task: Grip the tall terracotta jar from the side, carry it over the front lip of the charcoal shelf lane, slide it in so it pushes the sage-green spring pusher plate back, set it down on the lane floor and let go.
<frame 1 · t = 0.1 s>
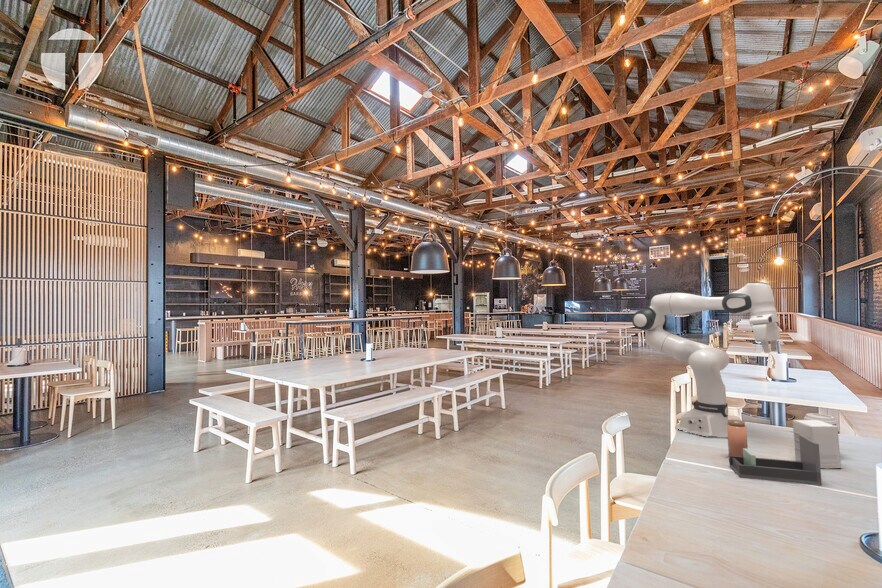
hand: (770, 351, 167), 39 cm above the table, tool pointing down, fingers open, 8 cm apart
jar: (738, 458, 152), on the table
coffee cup: (822, 455, 154), on the table
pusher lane: (755, 473, 137), on the table
supplement box: (817, 464, 145), on the table
pusher plate: (749, 460, 138), point 4 cm above the table, slide at 0.0 cm
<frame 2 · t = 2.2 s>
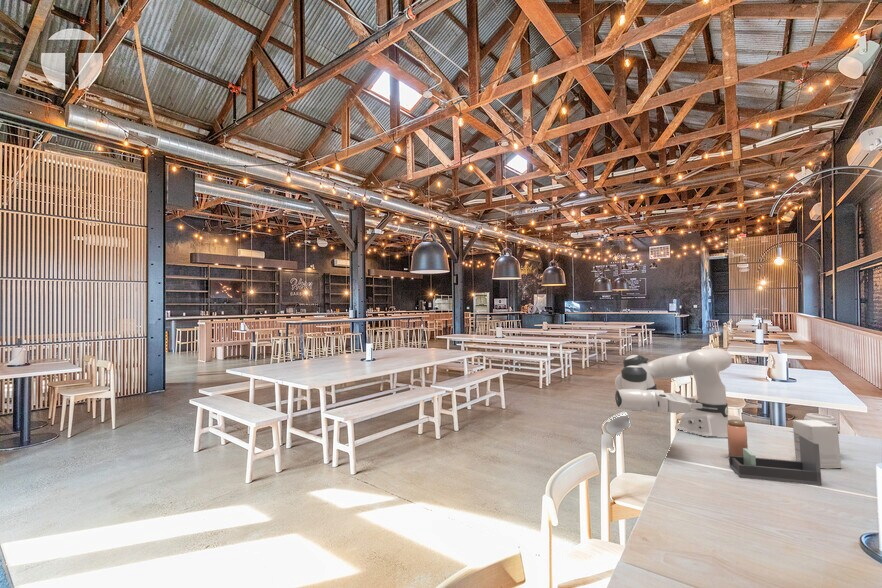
hand: (698, 403, 157), 20 cm above the table, tool horizontal, fingers open, 8 cm apart
nothing on the table moved.
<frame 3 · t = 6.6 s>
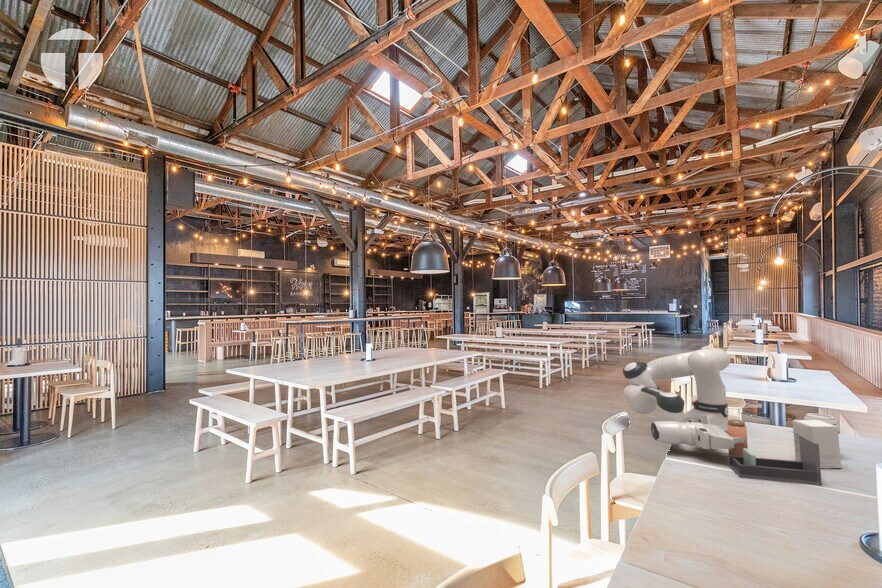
hand: (740, 437, 152), 8 cm above the table, tool horizontal, fingers closed on jar, 6 cm apart
jar: (738, 458, 152), on the table, touching gripper
everything else where it was.
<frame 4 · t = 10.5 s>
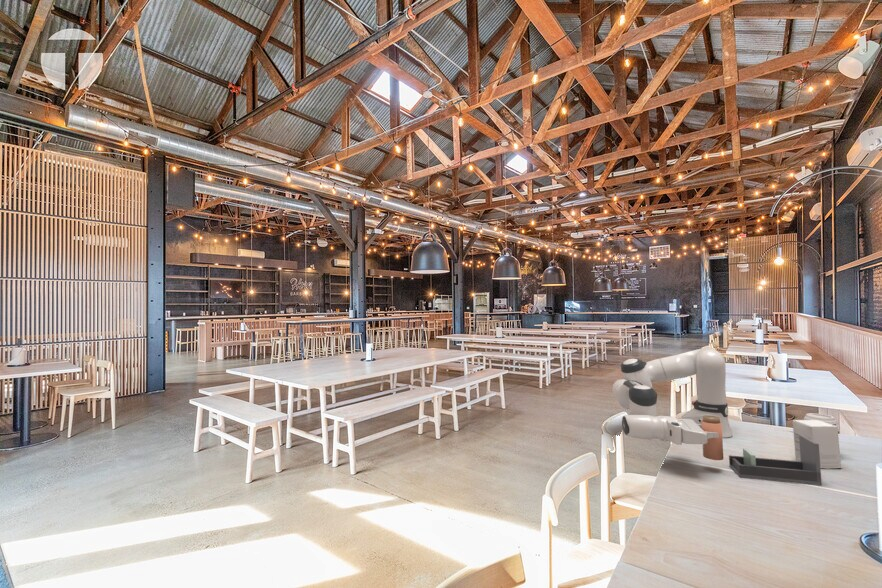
hand: (714, 431, 142), 13 cm above the table, tool horizontal, fingers closed on jar, 6 cm apart
jar: (713, 457, 141), point 4 cm above the table, touching gripper
everything else where it was.
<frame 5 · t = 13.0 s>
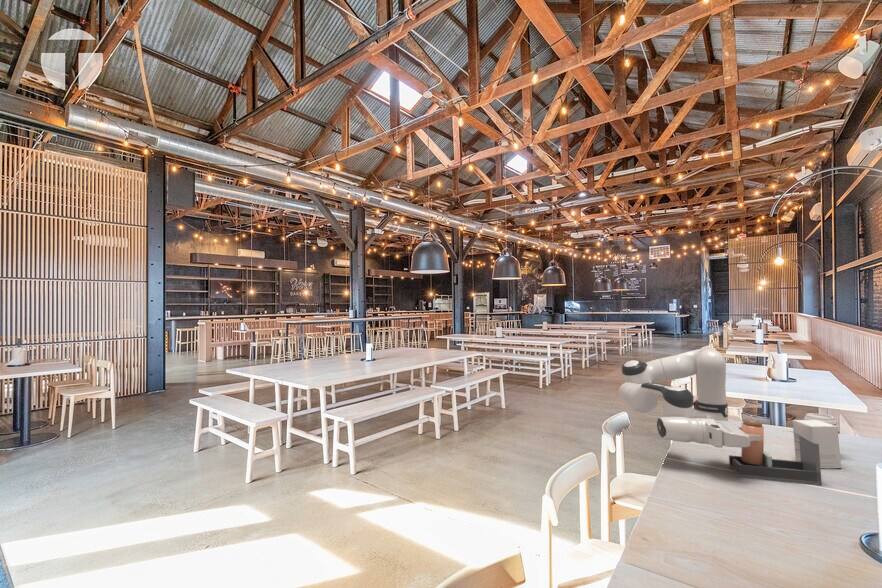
hand: (755, 434, 138), 13 cm above the table, tool horizontal, fingers closed on jar, 6 cm apart
jar: (752, 461, 137), point 4 cm above the table, touching gripper, pusher plate
pusher plate: (765, 461, 136), point 4 cm above the table, slide at 4.5 cm, touching jar
everything else where it was.
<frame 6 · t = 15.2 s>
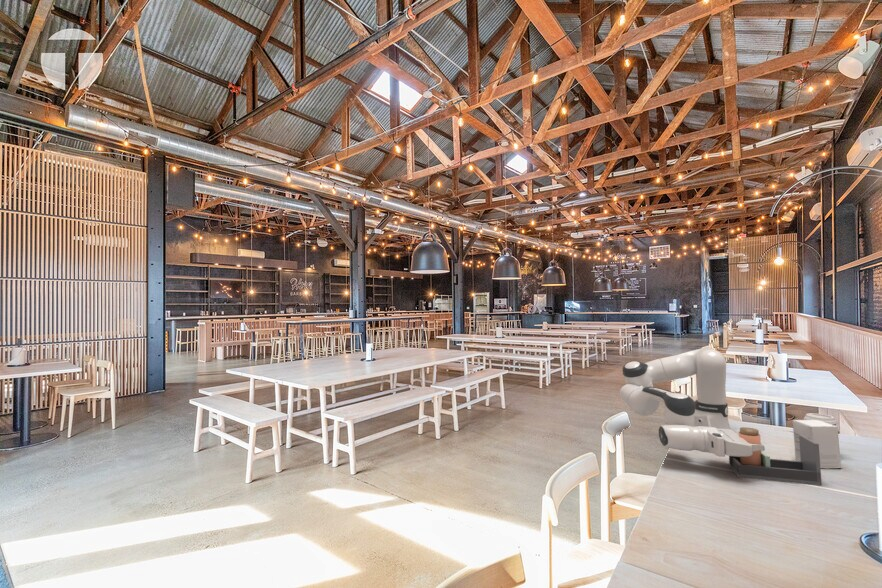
hand: (757, 443, 137), 11 cm above the table, tool horizontal, fingers open, 8 cm apart
jar: (751, 470, 138), point 1 cm above the table, touching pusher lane, pusher plate
pusher plate: (763, 461, 137), point 4 cm above the table, slide at 4.0 cm, touching jar
everything else where it was.
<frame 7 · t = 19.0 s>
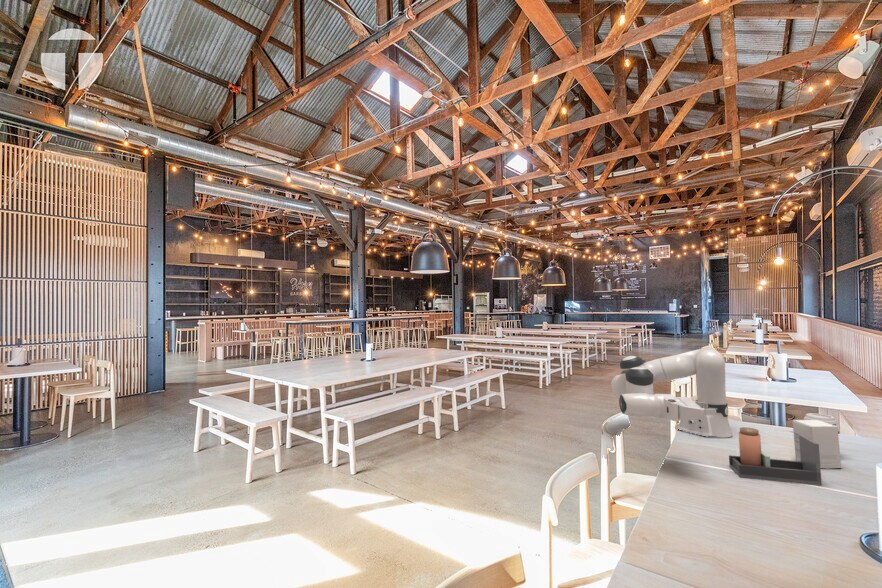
hand: (711, 408, 142), 22 cm above the table, tool horizontal, fingers open, 8 cm apart
nothing on the table moved.
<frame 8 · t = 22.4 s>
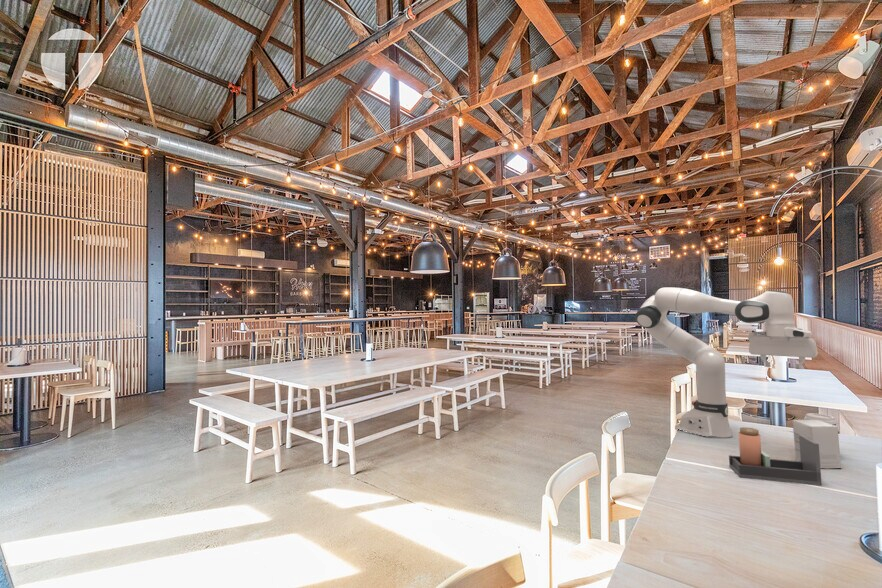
hand: (782, 367, 153), 34 cm above the table, tool pointing down, fingers open, 8 cm apart
nothing on the table moved.
at the end: jar 1.0 cm off-centre on the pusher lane, point 1.0 cm above the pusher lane's base; pusher plate slide at 4.0 cm; jar tilted 0° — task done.
